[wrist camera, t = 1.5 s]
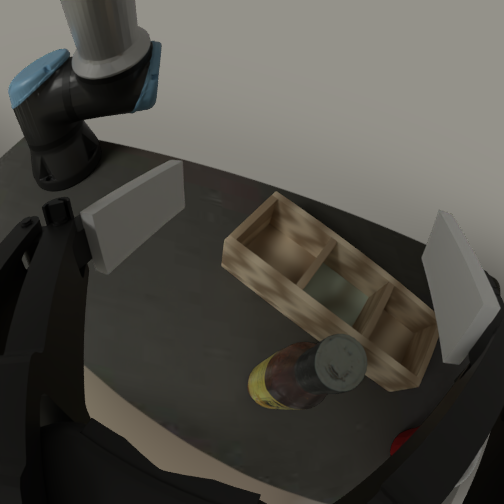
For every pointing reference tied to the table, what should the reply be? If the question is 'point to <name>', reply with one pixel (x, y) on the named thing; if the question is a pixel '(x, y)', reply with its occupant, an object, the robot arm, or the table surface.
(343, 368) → the sauce bottle
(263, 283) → the wooden compartment box
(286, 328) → the table surface
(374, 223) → the table surface
